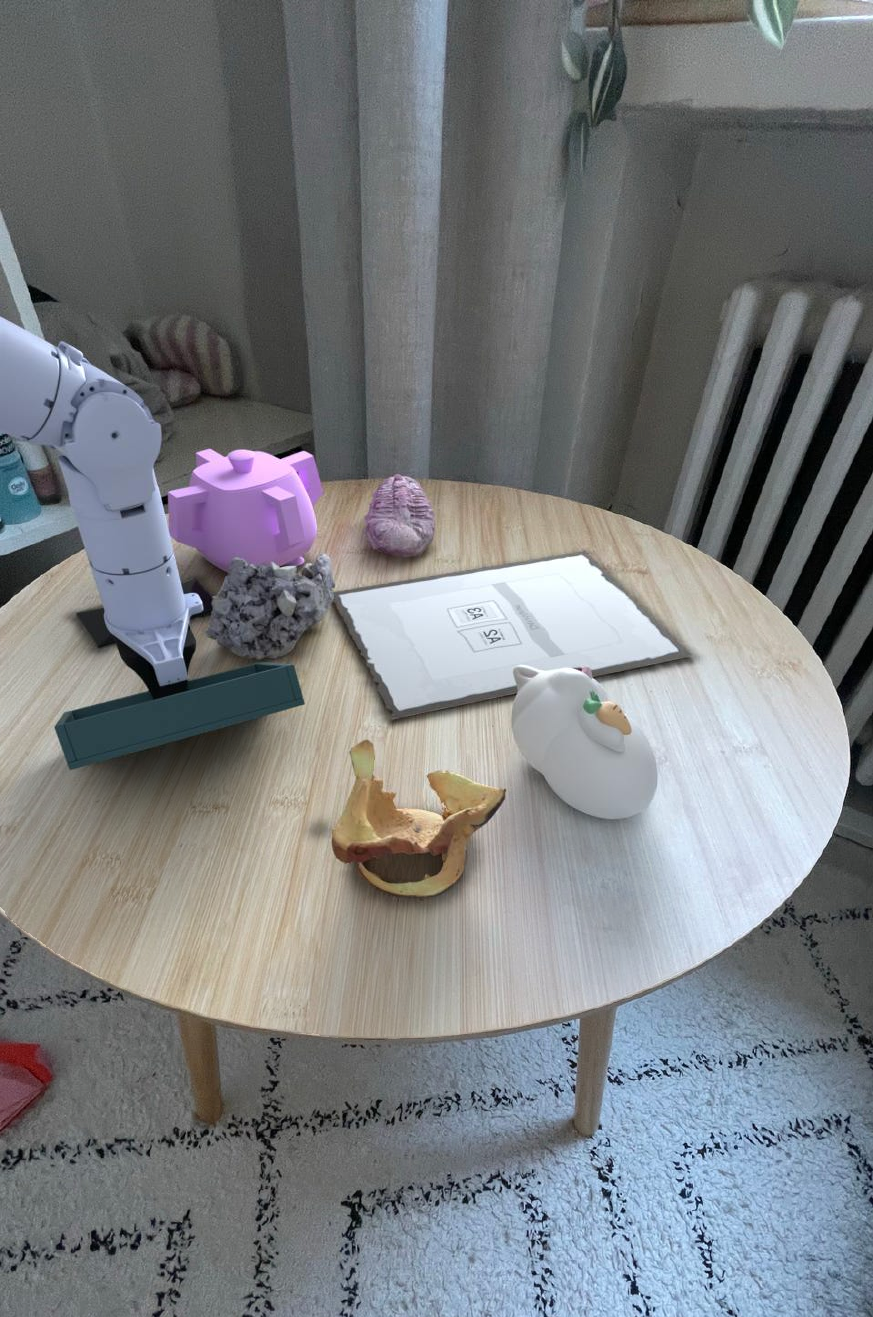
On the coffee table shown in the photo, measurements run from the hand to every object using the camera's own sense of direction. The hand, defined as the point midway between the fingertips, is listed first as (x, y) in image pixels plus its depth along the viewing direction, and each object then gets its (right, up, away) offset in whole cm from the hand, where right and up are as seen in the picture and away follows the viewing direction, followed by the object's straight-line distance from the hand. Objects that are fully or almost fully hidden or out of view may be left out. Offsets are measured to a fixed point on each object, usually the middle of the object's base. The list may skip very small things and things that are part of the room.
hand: (173, 706), depth 64 cm
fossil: (+18, +23, +27) cm, 39 cm away
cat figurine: (+33, -6, -2) cm, 33 cm away
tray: (+3, -2, -5) cm, 6 cm away
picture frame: (+28, +9, +13) cm, 33 cm away
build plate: (-7, +10, +13) cm, 18 cm away
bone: (+20, -12, -9) cm, 25 cm away
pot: (+2, +18, +22) cm, 28 cm away
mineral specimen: (+7, +7, +10) cm, 14 cm away
